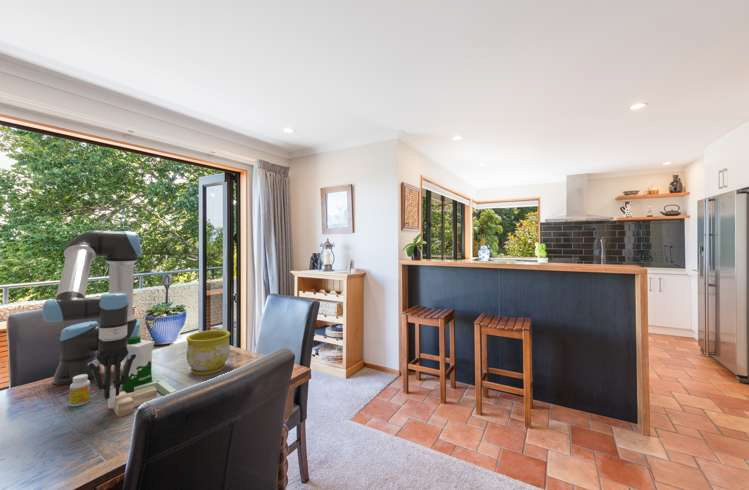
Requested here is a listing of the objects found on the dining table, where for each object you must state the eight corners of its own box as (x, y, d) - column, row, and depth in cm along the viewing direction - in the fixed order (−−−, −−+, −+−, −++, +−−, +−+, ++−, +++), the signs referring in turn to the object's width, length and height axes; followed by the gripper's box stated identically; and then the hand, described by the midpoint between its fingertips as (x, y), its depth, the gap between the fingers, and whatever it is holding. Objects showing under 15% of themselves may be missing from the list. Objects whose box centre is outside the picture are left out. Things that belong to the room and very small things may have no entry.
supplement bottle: (66, 408, 107) (67, 380, 107) (72, 401, 112) (73, 374, 112) (86, 404, 109) (87, 377, 110) (92, 398, 114) (92, 372, 114)
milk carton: (138, 381, 129) (139, 334, 129) (156, 383, 127) (157, 335, 127) (117, 390, 120) (118, 340, 120) (136, 393, 118) (137, 342, 119)
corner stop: (133, 395, 117) (134, 387, 117) (161, 386, 124) (161, 379, 124) (147, 408, 107) (148, 399, 107) (176, 398, 114) (176, 390, 114)
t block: (109, 405, 109) (109, 394, 109) (149, 393, 118) (149, 383, 118) (118, 417, 101) (119, 405, 101) (160, 403, 111) (160, 392, 111)
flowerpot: (237, 364, 149) (238, 330, 149) (212, 379, 131) (212, 341, 132) (205, 361, 152) (205, 328, 152) (176, 376, 134) (176, 339, 135)
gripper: (90, 344, 98) (88, 418, 97) (139, 335, 108) (137, 402, 107) (85, 340, 102) (83, 410, 102) (133, 332, 112) (131, 396, 112)
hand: (111, 406), depth 105 cm, fingers closed
